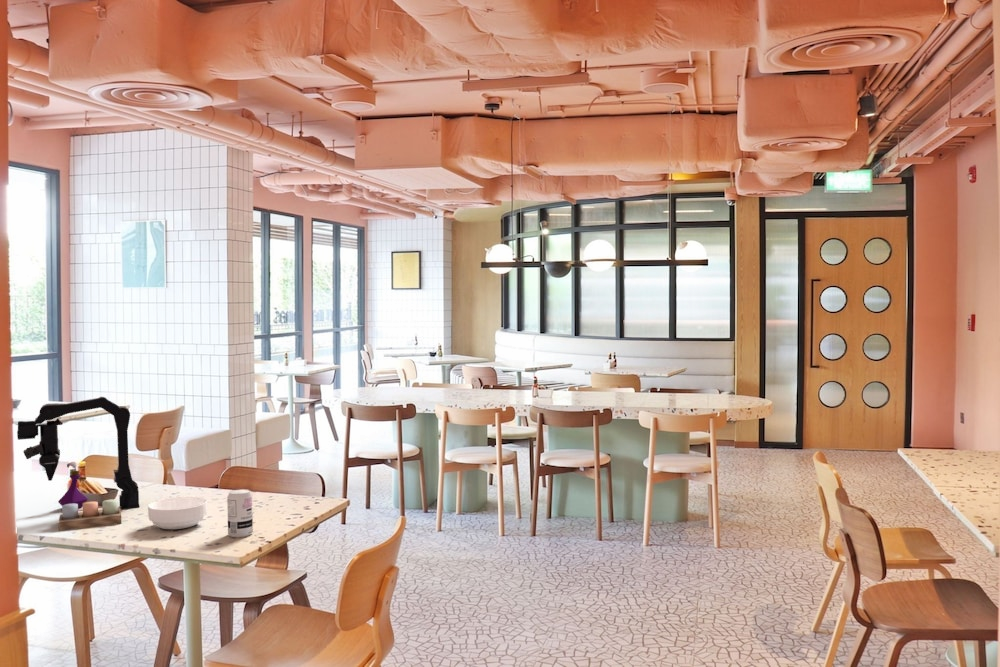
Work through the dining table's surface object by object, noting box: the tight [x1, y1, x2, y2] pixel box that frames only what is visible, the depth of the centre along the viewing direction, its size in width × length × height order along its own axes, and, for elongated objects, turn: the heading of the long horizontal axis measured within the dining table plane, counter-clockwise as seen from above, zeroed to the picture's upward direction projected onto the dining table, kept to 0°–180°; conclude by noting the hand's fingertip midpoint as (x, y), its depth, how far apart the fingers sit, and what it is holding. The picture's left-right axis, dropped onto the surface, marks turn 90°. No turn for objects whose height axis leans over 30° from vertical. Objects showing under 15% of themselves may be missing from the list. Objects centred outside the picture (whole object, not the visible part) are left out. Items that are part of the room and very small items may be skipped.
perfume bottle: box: [58, 462, 89, 509], centre depth 316 cm, size 8×8×18 cm
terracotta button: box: [82, 500, 99, 517], centre depth 294 cm, size 5×5×5 cm
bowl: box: [147, 496, 208, 530], centre depth 289 cm, size 20×20×8 cm
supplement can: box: [226, 488, 254, 538], centre depth 278 cm, size 8×8×15 cm
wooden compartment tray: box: [58, 507, 122, 531], centre depth 294 cm, size 20×12×3 cm, turn 117°
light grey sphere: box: [61, 503, 79, 520], centre depth 291 cm, size 5×5×5 cm
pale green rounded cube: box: [101, 498, 119, 515], centre depth 297 cm, size 5×5×5 cm
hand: (50, 478), depth 305 cm, fingers open, 9 cm apart
